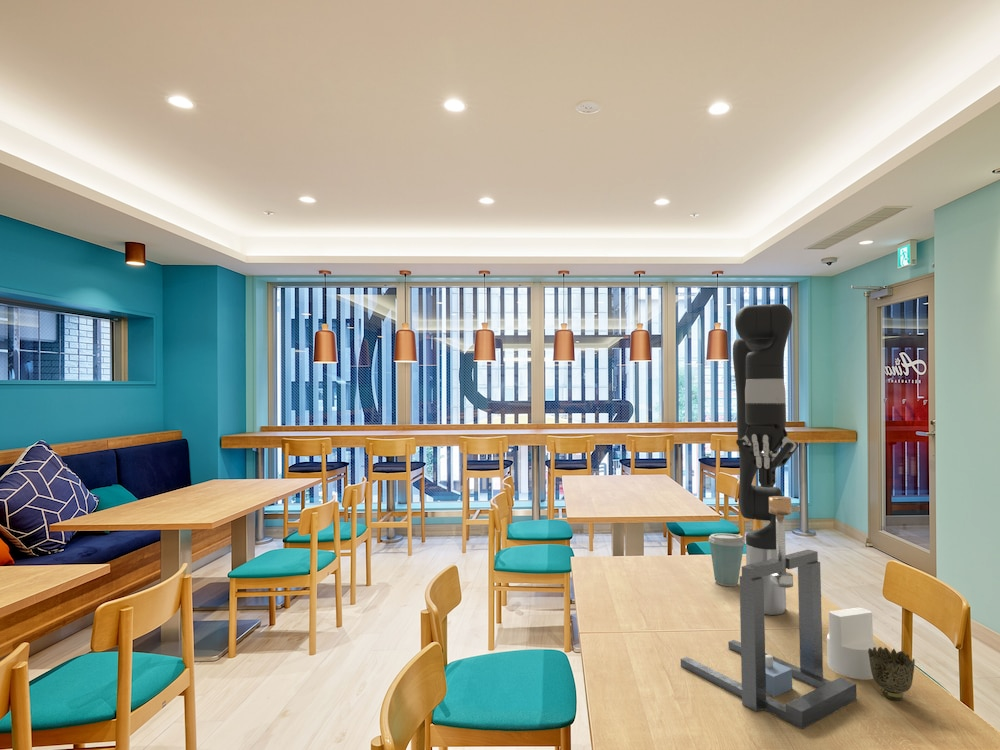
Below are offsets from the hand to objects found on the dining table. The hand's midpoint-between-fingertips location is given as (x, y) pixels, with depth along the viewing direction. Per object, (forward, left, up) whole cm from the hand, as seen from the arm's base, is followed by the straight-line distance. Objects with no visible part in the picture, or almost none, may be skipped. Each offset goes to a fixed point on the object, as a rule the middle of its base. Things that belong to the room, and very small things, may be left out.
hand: (767, 486), depth 114 cm
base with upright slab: (-21, +4, -40) cm, 46 cm away
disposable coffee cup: (-45, -45, -40) cm, 75 cm away
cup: (-16, +14, -40) cm, 46 cm away
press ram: (0, +2, -19) cm, 19 cm away
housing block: (0, -1, -40) cm, 40 cm away
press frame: (0, -2, -40) cm, 40 cm away
